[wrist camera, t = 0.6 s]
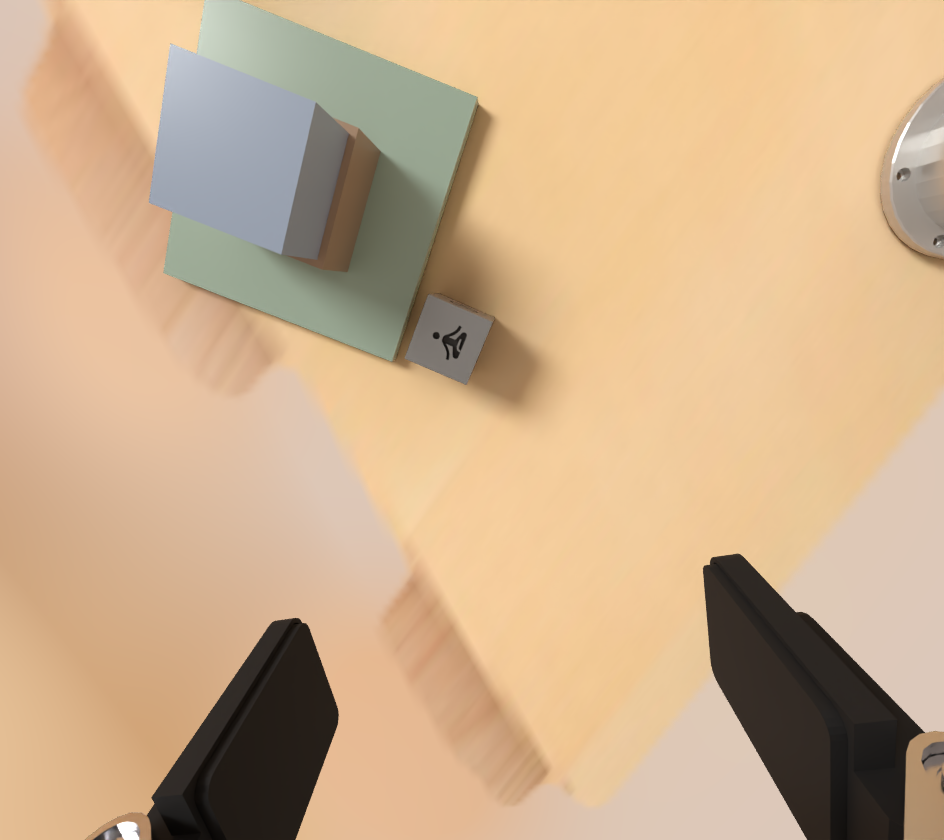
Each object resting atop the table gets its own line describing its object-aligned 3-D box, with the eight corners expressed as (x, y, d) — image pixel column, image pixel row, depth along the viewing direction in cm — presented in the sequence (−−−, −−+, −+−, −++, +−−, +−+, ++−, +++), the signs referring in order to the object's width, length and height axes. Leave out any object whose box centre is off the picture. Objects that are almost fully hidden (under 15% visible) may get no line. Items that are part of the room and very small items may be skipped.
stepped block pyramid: (217, -3, 32) (69, -149, 21) (478, 103, 32) (462, 13, 22) (173, 273, 38) (41, 267, 27) (395, 359, 38) (350, 387, 28)
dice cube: (471, 372, 38) (466, 384, 33) (417, 349, 38) (404, 358, 33) (495, 317, 37) (492, 321, 32) (439, 293, 37) (428, 293, 32)
